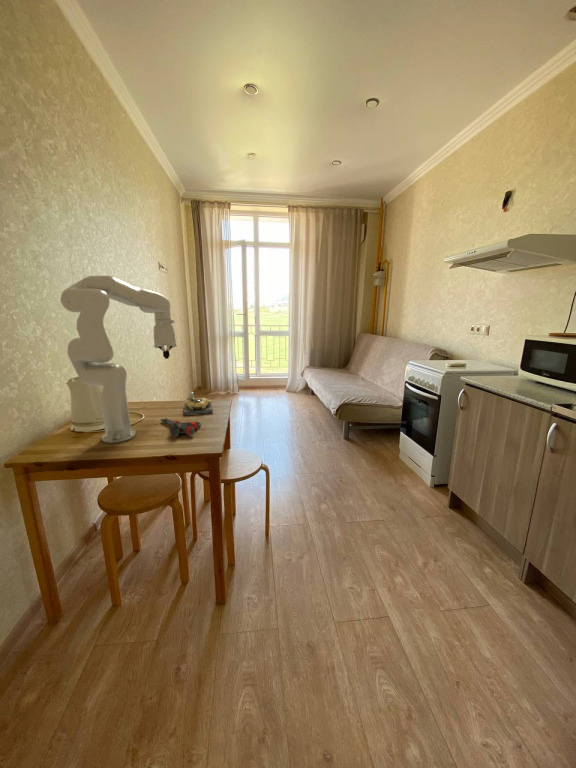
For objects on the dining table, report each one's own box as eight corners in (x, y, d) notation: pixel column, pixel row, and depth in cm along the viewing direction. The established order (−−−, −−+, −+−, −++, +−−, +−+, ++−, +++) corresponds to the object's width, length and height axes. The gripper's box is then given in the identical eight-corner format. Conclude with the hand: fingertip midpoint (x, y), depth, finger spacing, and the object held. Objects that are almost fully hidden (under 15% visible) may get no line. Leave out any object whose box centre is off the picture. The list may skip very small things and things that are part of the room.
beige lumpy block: (210, 401, 169) (210, 390, 167) (210, 408, 157) (209, 396, 156) (186, 402, 166) (185, 391, 164) (184, 410, 155) (183, 398, 153)
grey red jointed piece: (211, 435, 136) (180, 441, 125) (181, 423, 153) (152, 427, 142) (212, 421, 135) (181, 426, 124) (182, 410, 152) (152, 414, 141)
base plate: (212, 413, 157) (212, 409, 157) (184, 415, 153) (184, 412, 153) (211, 404, 171) (210, 400, 171) (184, 406, 167) (184, 403, 167)
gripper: (177, 322, 161) (180, 356, 165) (146, 322, 154) (150, 358, 159) (179, 322, 154) (182, 358, 159) (147, 323, 148) (151, 360, 152)
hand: (166, 358), depth 159 cm, fingers closed
